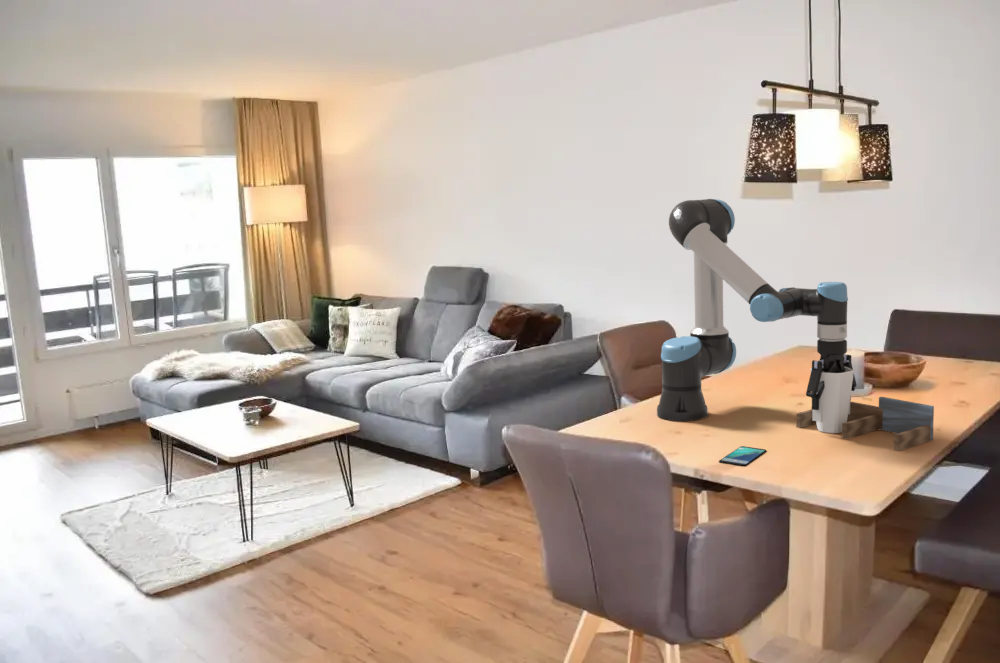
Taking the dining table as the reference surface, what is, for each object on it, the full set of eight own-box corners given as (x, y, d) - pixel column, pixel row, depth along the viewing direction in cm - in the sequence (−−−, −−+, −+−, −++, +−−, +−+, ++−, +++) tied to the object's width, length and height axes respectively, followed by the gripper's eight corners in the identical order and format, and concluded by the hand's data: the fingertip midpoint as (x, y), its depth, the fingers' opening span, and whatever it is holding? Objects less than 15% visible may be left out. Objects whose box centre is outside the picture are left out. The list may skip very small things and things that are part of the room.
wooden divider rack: (898, 451, 206) (898, 416, 205) (796, 427, 232) (796, 396, 230) (932, 439, 214) (933, 406, 212) (830, 417, 240) (831, 387, 238)
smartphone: (717, 461, 204) (741, 445, 216) (717, 464, 204) (741, 448, 216) (745, 465, 200) (767, 449, 212) (745, 468, 200) (767, 452, 212)
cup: (805, 432, 226) (805, 371, 224) (814, 423, 234) (814, 364, 232) (849, 436, 220) (849, 374, 217) (856, 427, 228) (857, 367, 226)
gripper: (815, 346, 214) (815, 427, 217) (871, 335, 226) (870, 412, 230) (791, 343, 221) (791, 422, 224) (847, 332, 233) (846, 407, 236)
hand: (831, 417), depth 227 cm, fingers closed on cup, 11 cm apart
